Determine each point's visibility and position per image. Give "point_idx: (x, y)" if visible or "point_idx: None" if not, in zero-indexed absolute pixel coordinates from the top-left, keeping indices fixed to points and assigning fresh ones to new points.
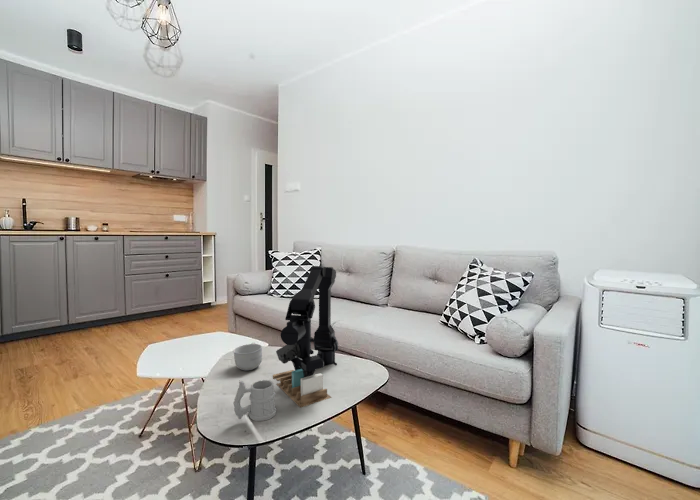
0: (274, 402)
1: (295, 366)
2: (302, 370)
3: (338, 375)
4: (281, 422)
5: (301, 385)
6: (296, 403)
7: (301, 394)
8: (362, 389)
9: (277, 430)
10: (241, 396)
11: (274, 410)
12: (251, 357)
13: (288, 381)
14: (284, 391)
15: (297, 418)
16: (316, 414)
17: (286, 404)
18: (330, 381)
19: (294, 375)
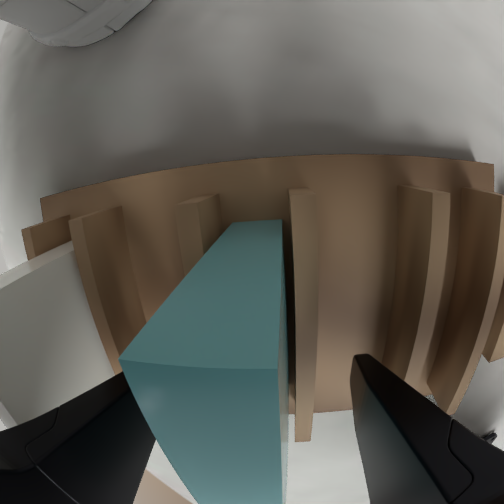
0: (18, 22)
1: (425, 477)
2: (200, 492)
3: (345, 482)
4: (29, 81)
5: (2, 282)
6: (80, 188)
7: (63, 250)
8: (177, 480)
9: (6, 68)
10: None
11: (37, 34)
12: None
13: (422, 246)
14: (335, 158)
15: (21, 161)
16: (25, 260)
17: (164, 126)
18: (318, 458)
19: (154, 333)
